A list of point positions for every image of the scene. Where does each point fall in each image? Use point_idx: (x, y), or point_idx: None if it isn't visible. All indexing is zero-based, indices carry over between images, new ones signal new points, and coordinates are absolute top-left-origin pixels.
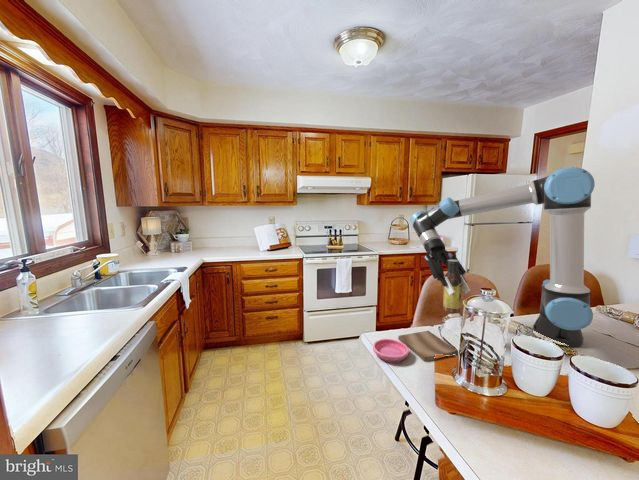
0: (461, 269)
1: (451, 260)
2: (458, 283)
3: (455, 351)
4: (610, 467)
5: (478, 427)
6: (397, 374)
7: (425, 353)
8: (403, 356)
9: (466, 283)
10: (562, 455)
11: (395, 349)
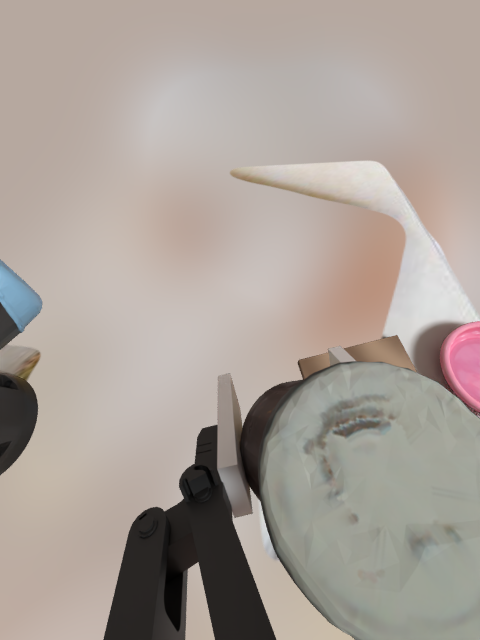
0: (161, 565)
1: (441, 478)
2: (292, 381)
3: (306, 358)
4: (243, 171)
5: (351, 201)
6: (463, 297)
7: (390, 351)
8: (460, 326)
9: (219, 403)
10: (278, 178)
11: (472, 388)
